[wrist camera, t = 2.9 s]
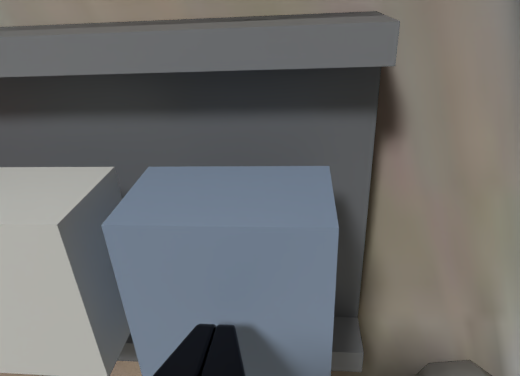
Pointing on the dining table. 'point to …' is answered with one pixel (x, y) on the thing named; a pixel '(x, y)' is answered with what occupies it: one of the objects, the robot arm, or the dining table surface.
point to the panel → (208, 109)
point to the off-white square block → (58, 272)
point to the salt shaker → (453, 369)
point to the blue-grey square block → (230, 262)
